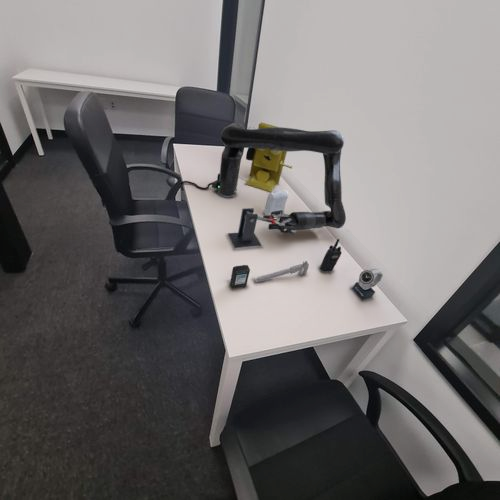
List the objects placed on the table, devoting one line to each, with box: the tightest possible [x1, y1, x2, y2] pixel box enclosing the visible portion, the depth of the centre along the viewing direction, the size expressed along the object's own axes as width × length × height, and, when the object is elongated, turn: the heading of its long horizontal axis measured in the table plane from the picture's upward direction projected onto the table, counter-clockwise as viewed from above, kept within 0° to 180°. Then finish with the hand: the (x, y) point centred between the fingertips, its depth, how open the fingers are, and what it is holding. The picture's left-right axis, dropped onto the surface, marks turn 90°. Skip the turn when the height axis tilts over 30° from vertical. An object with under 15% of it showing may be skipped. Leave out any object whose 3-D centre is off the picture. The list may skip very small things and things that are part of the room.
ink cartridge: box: [229, 264, 251, 290], centre depth 84 cm, size 5×2×8 cm, turn 111°
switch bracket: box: [227, 207, 262, 249], centre depth 101 cm, size 11×9×14 cm
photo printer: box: [263, 189, 289, 216], centre depth 123 cm, size 10×4×12 cm, turn 123°
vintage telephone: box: [238, 122, 293, 193], centre depth 142 cm, size 31×14×30 cm, turn 73°
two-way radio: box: [319, 238, 342, 273], centre depth 97 cm, size 6×4×15 cm
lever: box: [244, 211, 276, 224], centre depth 101 cm, size 13×5×2 cm, turn 110°
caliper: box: [253, 260, 309, 283], centre depth 91 cm, size 20×1×6 cm, turn 112°
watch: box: [352, 268, 384, 301], centre depth 91 cm, size 6×8×11 cm
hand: (266, 222), depth 103 cm, fingers closed on lever, 5 cm apart
